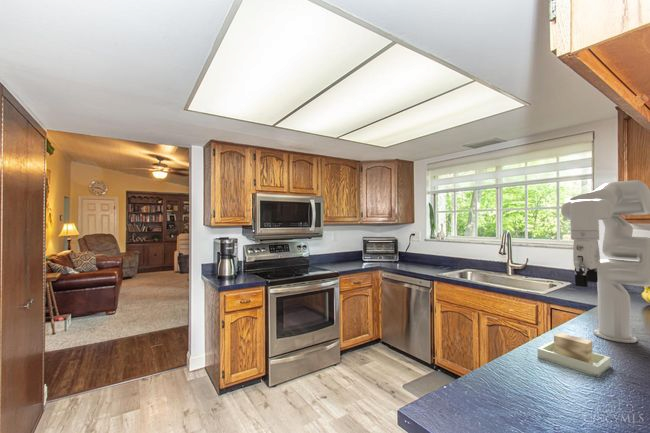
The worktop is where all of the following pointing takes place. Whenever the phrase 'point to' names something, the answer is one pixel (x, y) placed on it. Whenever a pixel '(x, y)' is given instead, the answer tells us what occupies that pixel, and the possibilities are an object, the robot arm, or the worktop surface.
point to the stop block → (573, 347)
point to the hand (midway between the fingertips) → (586, 284)
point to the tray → (575, 360)
